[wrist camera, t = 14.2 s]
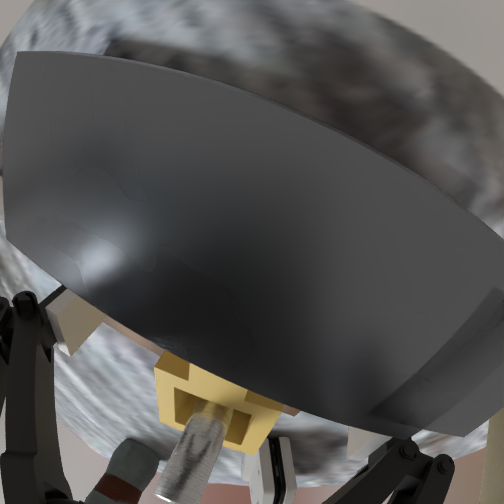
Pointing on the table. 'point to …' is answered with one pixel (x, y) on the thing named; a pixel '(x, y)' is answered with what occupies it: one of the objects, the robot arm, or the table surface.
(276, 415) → the link
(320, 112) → the table surface
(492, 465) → the plant pot
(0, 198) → the white cylinder
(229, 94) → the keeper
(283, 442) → the white d-shaped block
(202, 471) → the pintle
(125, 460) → the bottle
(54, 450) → the robot arm
